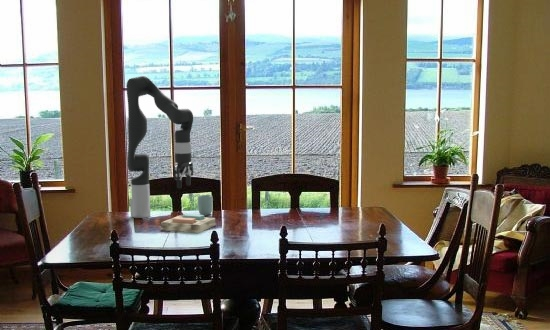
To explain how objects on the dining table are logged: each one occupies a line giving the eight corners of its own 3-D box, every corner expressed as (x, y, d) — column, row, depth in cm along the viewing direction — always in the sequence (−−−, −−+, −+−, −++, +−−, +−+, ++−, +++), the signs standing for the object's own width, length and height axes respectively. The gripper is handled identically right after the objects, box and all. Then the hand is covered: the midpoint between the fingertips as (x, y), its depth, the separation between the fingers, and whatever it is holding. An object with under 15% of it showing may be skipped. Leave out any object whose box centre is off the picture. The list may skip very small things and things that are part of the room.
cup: (214, 213, 295) (213, 195, 294) (211, 216, 287) (210, 197, 286) (200, 213, 296) (199, 194, 295) (196, 216, 288) (196, 197, 287)
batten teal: (204, 223, 265) (204, 215, 265) (200, 224, 261) (199, 216, 261) (186, 221, 269) (186, 213, 269) (182, 223, 266) (182, 215, 265)
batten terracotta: (195, 226, 257) (195, 218, 257) (192, 228, 254) (191, 220, 253) (176, 225, 261) (176, 217, 260) (172, 227, 257) (172, 218, 256)
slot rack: (161, 229, 257) (161, 222, 256) (180, 222, 273) (179, 215, 272) (198, 232, 250) (198, 225, 249) (215, 225, 266) (215, 217, 265)
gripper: (182, 153, 245) (183, 189, 247) (197, 150, 259) (198, 184, 261) (167, 153, 248) (168, 188, 250) (183, 150, 261) (184, 183, 263)
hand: (183, 186), depth 255 cm, fingers open, 8 cm apart
